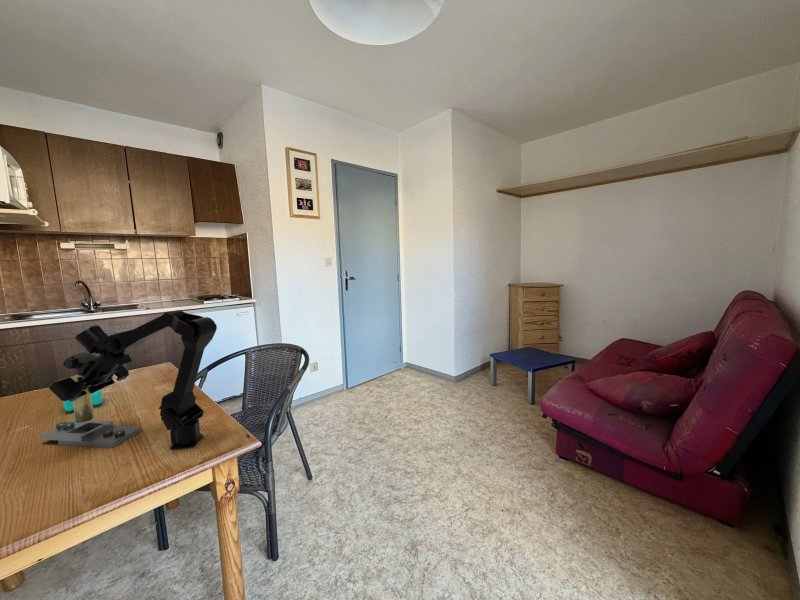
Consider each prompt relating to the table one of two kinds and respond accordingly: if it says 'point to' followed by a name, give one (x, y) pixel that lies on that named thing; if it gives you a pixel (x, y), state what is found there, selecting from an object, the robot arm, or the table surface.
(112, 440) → the bolted metal plate
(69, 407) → the donuts
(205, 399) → the table surface
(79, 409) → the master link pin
